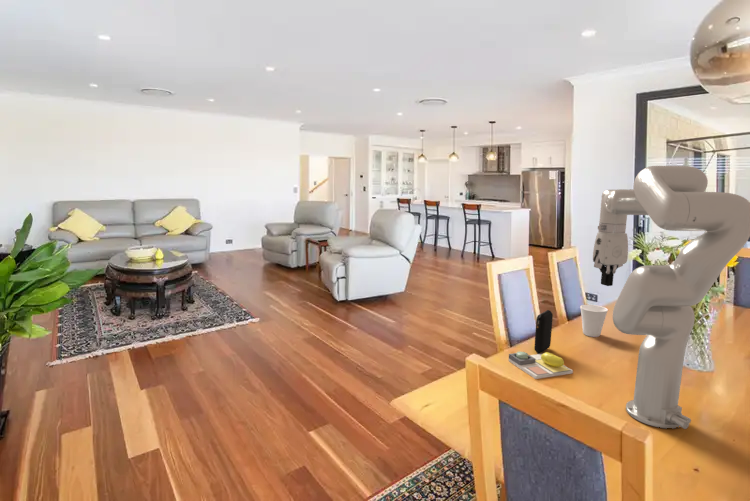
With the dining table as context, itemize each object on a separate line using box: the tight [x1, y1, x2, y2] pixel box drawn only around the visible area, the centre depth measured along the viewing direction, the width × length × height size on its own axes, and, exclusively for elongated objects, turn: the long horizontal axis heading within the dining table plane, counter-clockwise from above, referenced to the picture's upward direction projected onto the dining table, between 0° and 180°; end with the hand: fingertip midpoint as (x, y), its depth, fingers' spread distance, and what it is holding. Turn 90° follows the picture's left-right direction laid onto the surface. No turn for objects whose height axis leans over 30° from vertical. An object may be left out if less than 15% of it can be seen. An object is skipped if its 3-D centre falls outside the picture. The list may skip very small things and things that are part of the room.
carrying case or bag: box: [533, 309, 554, 354], centre depth 152 cm, size 11×3×15 cm, turn 137°
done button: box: [516, 351, 529, 360], centre depth 143 cm, size 4×4×2 cm
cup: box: [579, 304, 609, 338], centre depth 170 cm, size 10×10×11 cm
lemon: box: [541, 351, 565, 367], centre depth 139 cm, size 4×8×4 cm, turn 30°
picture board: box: [508, 352, 574, 380], centre depth 141 cm, size 14×14×2 cm
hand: (606, 284), depth 139 cm, fingers closed
